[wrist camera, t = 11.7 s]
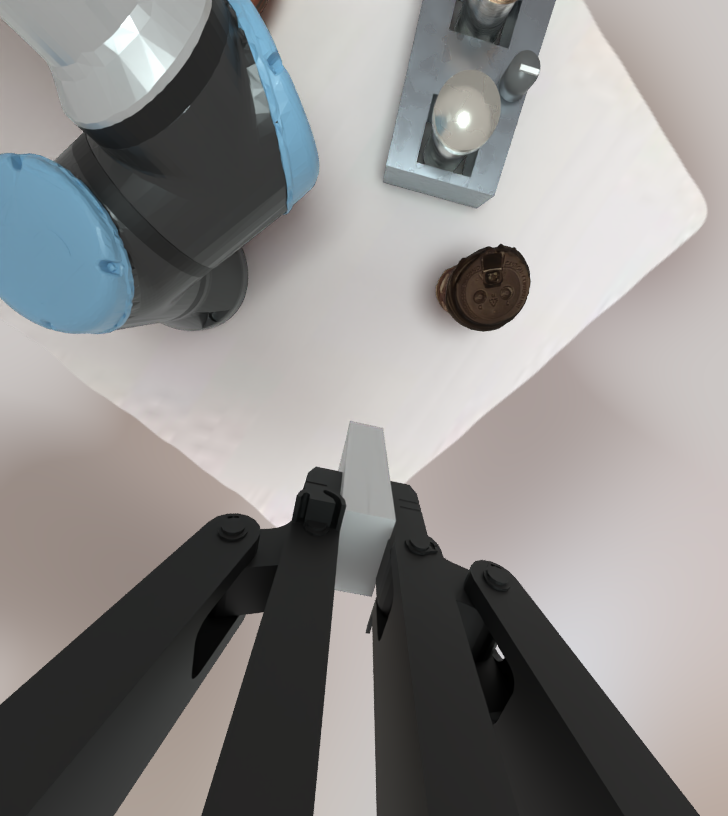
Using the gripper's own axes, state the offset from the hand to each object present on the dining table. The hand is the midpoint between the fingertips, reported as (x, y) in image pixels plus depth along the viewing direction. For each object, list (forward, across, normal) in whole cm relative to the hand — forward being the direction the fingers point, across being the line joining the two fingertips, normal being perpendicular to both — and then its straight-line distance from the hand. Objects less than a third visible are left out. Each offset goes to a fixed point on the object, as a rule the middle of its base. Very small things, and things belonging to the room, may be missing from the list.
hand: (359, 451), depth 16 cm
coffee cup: (+35, +11, +10) cm, 38 cm away
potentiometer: (+28, +9, +29) cm, 41 cm away
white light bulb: (+33, +4, +23) cm, 41 cm away
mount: (+34, +4, +29) cm, 45 cm away
